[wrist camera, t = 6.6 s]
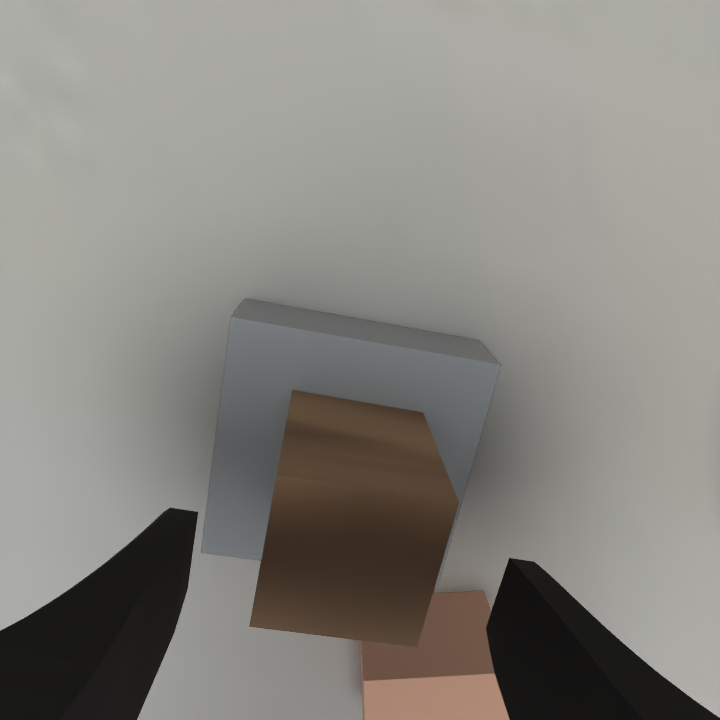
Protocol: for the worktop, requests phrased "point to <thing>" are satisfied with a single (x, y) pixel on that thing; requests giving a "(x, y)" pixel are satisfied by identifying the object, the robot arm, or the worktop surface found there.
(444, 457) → the slate slab
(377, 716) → the terracotta block
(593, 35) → the worktop surface
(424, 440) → the walnut block
